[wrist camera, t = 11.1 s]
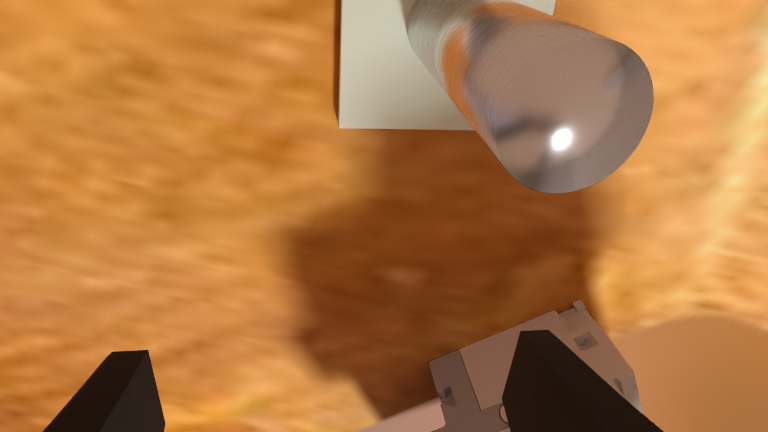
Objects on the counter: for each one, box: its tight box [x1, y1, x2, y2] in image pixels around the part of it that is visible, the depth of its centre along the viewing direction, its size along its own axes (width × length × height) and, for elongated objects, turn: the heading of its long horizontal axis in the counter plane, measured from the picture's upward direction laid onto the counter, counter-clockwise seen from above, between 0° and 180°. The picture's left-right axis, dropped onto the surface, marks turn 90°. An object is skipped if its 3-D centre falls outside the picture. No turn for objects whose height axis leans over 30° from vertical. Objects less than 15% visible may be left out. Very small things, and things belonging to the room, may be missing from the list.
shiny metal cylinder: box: [407, 0, 653, 193], centre depth 12 cm, size 3×3×9 cm
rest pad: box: [338, 0, 556, 130], centre depth 17 cm, size 7×7×1 cm
